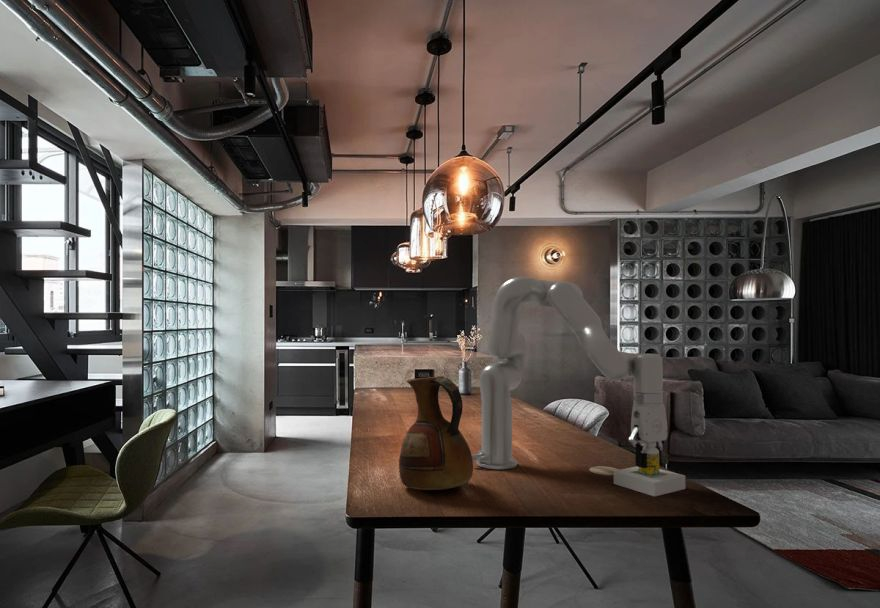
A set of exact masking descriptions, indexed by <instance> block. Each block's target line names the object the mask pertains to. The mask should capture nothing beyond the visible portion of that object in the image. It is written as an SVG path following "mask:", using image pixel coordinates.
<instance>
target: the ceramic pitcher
mask: <svg viewBox="0 0 880 608" xmlns="http://www.w3.org/2000/svg"><path fill="white" fill-rule="evenodd" d="M406 382H407V383H408V385H409V386H410V387H411V388H412V390H413V392H414V395H415V399H416V400H415V401H416V405H417V416H416V420H415V421H414V423H413V424H412V425H411V426H410V427H409V428H408V430H407V431H406V433H405V436H404V438H403V440H402V444H401V448H400V454H399V459H398V470H399V471H398V472H399V478H400V480H401V484H403V486H404V487H407V488H410V489H415V490H421V491H422V490H423V491H443V490H449V489H453V488H457V487H463V486H467V485H468V484H469V482H470V481H471V479H472V477H473V474H474V473H473V472H474V461H473V460H472V452H471V449H470V445H469V444H468V442H467V441H466V438H465V437H464V435H463V434H462V432H461V431H460V429H459V427H460V423H461V418H462V415H463V407H464V405H463V398H462V395H461V392H460V390H459V387H458V386H457V384H455V383H454V382H453V381H452V380H451V379H449V378H447V377H445V376H443V375H442V376H441V375H440V376H439V375H437V376H434V377H433V376H429V377H419V378H410V379H407V380H406ZM440 387H441V388H443V389H444V391H445V392H446V393H447V394H448V396H449V398H450V401H451V404H452V405H451V406H452V407H451V408H452V414H451V420H450V421H449V420H447V419H445V417H444V415H443V414H442V411H441V407H440V401H439V391H440Z"/></svg>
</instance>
